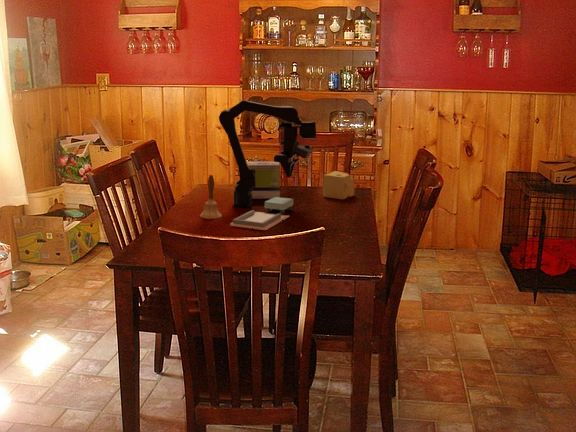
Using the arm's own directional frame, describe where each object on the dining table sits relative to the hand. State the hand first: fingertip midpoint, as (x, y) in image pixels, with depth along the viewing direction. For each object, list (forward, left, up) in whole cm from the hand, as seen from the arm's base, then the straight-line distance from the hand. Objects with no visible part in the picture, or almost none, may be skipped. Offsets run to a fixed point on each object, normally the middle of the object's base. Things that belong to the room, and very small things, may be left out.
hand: (289, 177), depth 281 cm
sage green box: (0, -10, -12) cm, 16 cm away
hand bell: (-20, -29, -12) cm, 37 cm away
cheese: (+12, +27, -12) cm, 32 cm away
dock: (0, -27, -12) cm, 30 cm away
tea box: (-17, +11, -12) cm, 24 cm away
